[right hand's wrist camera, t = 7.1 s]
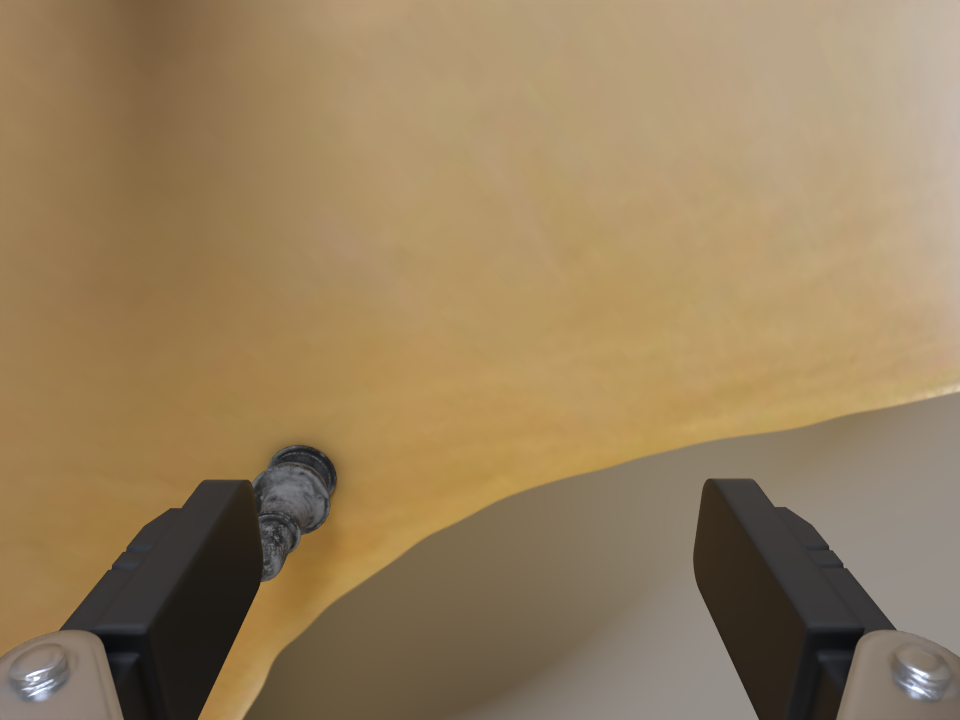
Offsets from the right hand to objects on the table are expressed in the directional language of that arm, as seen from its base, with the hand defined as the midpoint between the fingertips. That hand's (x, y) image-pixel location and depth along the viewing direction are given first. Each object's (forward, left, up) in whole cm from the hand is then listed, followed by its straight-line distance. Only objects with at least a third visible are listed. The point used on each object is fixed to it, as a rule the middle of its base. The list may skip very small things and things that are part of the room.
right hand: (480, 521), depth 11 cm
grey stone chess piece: (+23, -7, -34) cm, 41 cm away
